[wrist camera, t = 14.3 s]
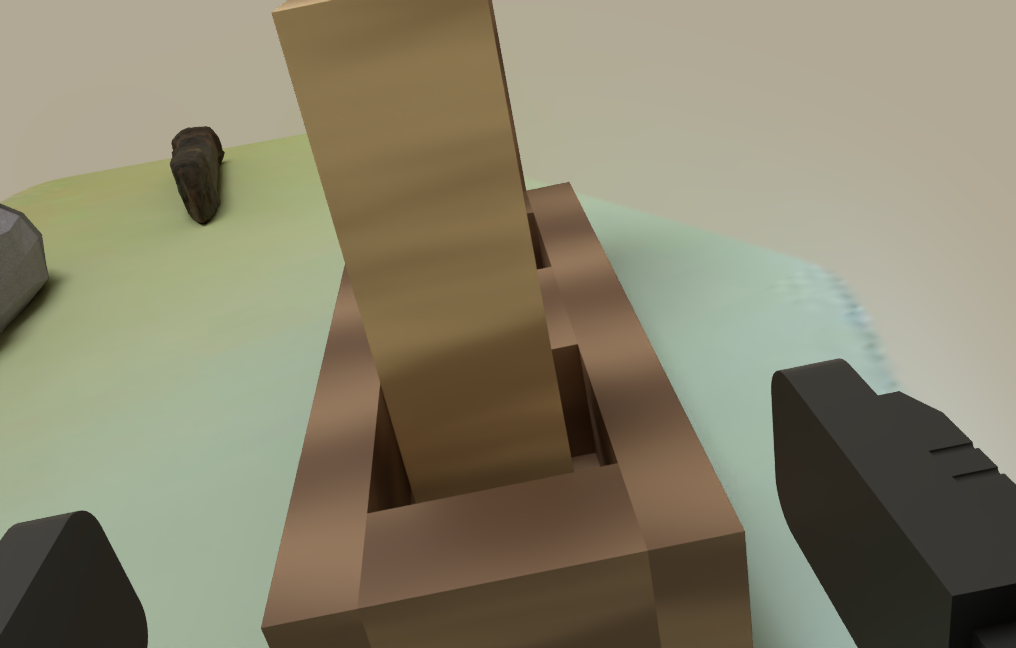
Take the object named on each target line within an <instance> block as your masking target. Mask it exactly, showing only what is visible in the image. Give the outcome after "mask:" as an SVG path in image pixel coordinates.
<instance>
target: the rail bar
mask: <svg viewBox="0 0 1016 648" xmlns="http://www.w3.org/2000/svg"><path fill="white" fill-rule="evenodd" d="M272 16H273V19H274V23H275V26H276V30H277V33H278V36H279V39H280V43H281V47H282V50H283V53H284V57H285V60H286V63H287V67H288V70H289V74H290V77H291V81H292V84H293V87H294V91H295V94H296V98H297V101H298V104H299V108H300V111H301V115H302V118H303V121H304V125H305V128H306V132H307V135H308V138H309V142H310V145H311V149H312V152H313V155H314V159H315V162H316V166H317V169H318V172H319V176H320V179H321V183H322V186H323V189H324V193H325V196H326V200H327V203H328V206H329V210H330V213H331V217H332V220H333V223H334V227H335V230H336V234H337V237H338V240H339V244H340V247H341V251H342V254H343V257H344V261H345V264H346V268H347V271H348V274H349V278H350V281H351V285H352V288H353V291H354V295H355V298H356V302H357V305H358V308H359V312H360V315H361V319H362V322H363V325H364V329H365V332H366V336H367V339H368V342H369V346H370V349H371V353H372V356H373V359H374V363H375V366H376V370H377V373H378V376H379V380H380V383H381V387H382V390H383V393H384V397H385V400H386V404H387V407H388V410H389V414H390V417H391V421H392V424H393V427H394V431H395V434H396V438H397V441H398V444H399V448H400V451H401V455H402V458H403V461H404V465H405V468H406V472H407V475H408V478H409V482H410V485H411V489H412V492H413V495H414V499H415V502H416V504H418V503H423V502H428V501H433V500H438V499H443V498H447V497H452V496H457V495H462V494H467V493H472V492H477V491H482V490H487V489H492V488H497V487H502V486H507V485H512V484H517V483H522V482H527V481H532V480H537V479H542V478H547V477H552V476H557V475H562V474H567V473H572V472H574V470H573V465H572V459H571V454H570V448H569V443H568V437H567V432H566V426H565V421H564V415H563V410H562V404H561V399H560V393H559V388H558V382H557V377H556V371H555V366H554V361H553V355H552V350H551V344H550V339H549V333H548V328H547V322H546V317H545V311H544V306H543V300H542V295H541V289H540V284H539V278H538V273H537V267H536V262H535V256H534V251H533V245H532V240H531V234H530V229H529V223H528V218H527V213H526V207H525V202H524V196H523V191H522V185H521V180H520V174H519V169H518V163H517V158H516V152H515V147H514V141H513V136H512V130H511V125H510V119H509V114H508V108H507V103H506V97H505V92H504V86H503V81H502V76H501V70H500V65H499V59H498V54H497V48H496V43H495V37H494V32H493V26H492V21H491V15H490V10H489V4H488V0H287V1H286V2H285V3H283V4H282V5H281V6H279V7H278V8H277V9H276V10H274V11H273V12H272Z"/></svg>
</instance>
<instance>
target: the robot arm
mask: <svg viewBox="0 0 1016 648" xmlns="http://www.w3.org/2000/svg"><path fill="white" fill-rule="evenodd" d="M771 395H772V415H773V435H774V455H775V475H776V485H777V491H778V496H779V500H780V504H781V507H782V511H783V514H784V517H785V519H786V522H787V524H788V527H789V529H790V531H791V533H792V535H793V536H794V538H795V540H796V541H797V543H798V545H799V547H800V548H801V550H802V552H803V554H804V555H805V557H806V559H807V561H808V562H809V564H810V566H811V567H812V569H813V571H814V573H815V574H816V576H817V578H818V580H819V581H820V583H821V585H822V586H823V588H824V590H825V592H826V593H827V595H828V597H829V599H830V600H831V602H832V604H833V605H834V607H835V609H836V611H837V612H838V614H839V616H840V618H841V619H842V621H843V623H844V625H845V626H846V628H847V630H848V631H849V633H850V635H851V637H852V638H853V640H854V642H855V644H856V645H857V647H858V648H1016V484H1015V483H1014V482H1012V481H1011V480H1010V479H1009V478H1008V477H1007V476H1006V475H1005V474H1000V473H999V471H998V467H997V466H996V465H995V464H994V463H993V462H992V461H991V460H990V459H989V458H988V457H987V456H986V455H985V454H984V453H983V452H982V451H981V450H980V449H979V448H976V449H975V448H974V447H973V442H972V441H971V440H970V439H969V438H968V437H967V436H966V435H965V434H964V433H963V432H962V431H961V430H960V429H959V428H958V427H957V426H956V425H955V424H954V423H953V422H952V421H951V420H950V419H949V418H948V417H947V416H946V415H945V414H944V413H942V412H941V411H938V410H936V409H934V408H932V407H930V406H928V405H926V404H924V403H922V402H920V401H918V400H916V399H914V398H912V397H910V396H908V395H906V394H904V393H902V392H900V391H898V392H893V393H888V394H883V395H877V394H876V393H875V392H874V391H873V390H872V389H871V388H870V386H869V385H868V384H867V383H866V382H865V381H864V380H863V379H862V378H861V377H860V376H859V374H858V373H857V372H856V371H855V370H854V369H853V368H852V367H851V366H850V365H849V364H848V363H847V362H846V361H845V360H843V359H834V360H829V361H824V362H819V363H814V364H809V365H804V366H799V367H794V368H789V369H784V370H780V371H776V372H775V373H774V374H773V377H772V383H771ZM147 645H148V629H147V621H146V616H145V613H144V609H143V607H142V604H141V602H140V600H139V598H138V596H137V594H136V593H135V591H134V589H133V587H132V585H131V583H130V581H129V579H128V577H127V575H126V573H125V571H124V569H123V567H122V565H121V563H120V562H119V560H118V558H117V556H116V554H115V552H114V550H113V548H112V546H111V544H110V542H109V540H108V538H107V536H106V534H105V532H104V531H103V529H102V527H101V525H100V523H99V522H98V520H97V519H96V518H95V517H94V516H93V515H92V514H91V513H89V512H87V511H76V512H71V513H66V514H61V515H56V516H51V517H46V518H42V519H37V520H32V521H27V522H22V523H17V524H15V525H13V526H12V527H11V528H9V529H8V531H7V532H6V533H5V534H4V536H3V537H2V539H1V540H0V648H147Z"/></svg>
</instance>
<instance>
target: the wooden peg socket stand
mask: <svg viewBox="0 0 1016 648" xmlns="http://www.w3.org/2000/svg"><path fill="white" fill-rule="evenodd" d="M488 4H489V10H490V15H491V21H492V26H493V32H494V37H495V43H496V48H497V54H498V59H499V65H500V70H501V76H502V81H503V86H504V92H505V97H506V103H507V108H508V114H509V119H510V125H511V130H512V136H513V141H514V147H515V152H516V158H517V163H518V169H519V174H520V180H521V185H522V191H523V196H524V202H525V207H526V213H527V218H528V223H529V229H530V234H531V240H532V245H533V251H534V256H535V262H536V267H537V273H538V278H539V284H540V289H541V295H542V300H543V306H544V311H545V317H546V322H547V328H548V333H549V339H550V344H551V350H552V355H553V361H554V366H555V371H556V377H557V382H558V388H559V393H560V399H561V404H562V410H563V415H564V421H565V426H566V432H567V437H568V443H569V448H570V454H571V459H572V465H573V470H574V472H572V473H567V474H562V475H557V476H552V477H547V478H542V479H537V480H532V481H527V482H522V483H517V484H512V485H507V486H502V487H497V488H492V489H487V490H482V491H477V492H472V493H467V494H462V495H457V496H452V497H447V498H443V499H438V500H433V501H428V502H423V503H418V504H416V502H415V499H414V495H413V492H412V489H411V485H410V482H409V478H408V475H407V472H406V468H405V465H404V461H403V458H402V455H401V451H400V448H399V444H398V441H397V438H396V434H395V431H394V427H393V424H392V421H391V417H390V414H389V410H388V407H387V404H386V400H385V397H384V393H383V390H382V387H381V383H380V380H379V376H378V373H377V370H376V366H375V363H374V359H373V356H372V353H371V349H370V346H369V342H368V339H367V336H366V332H365V329H364V325H363V322H362V319H361V315H360V312H359V308H358V305H357V302H356V298H355V295H354V291H353V288H352V285H351V281H350V278H349V274H348V271H347V268H346V264H345V266H344V271H343V275H342V279H341V284H340V288H339V292H338V297H337V301H336V305H335V310H334V314H333V318H332V323H331V327H330V331H329V336H328V340H327V344H326V349H325V353H324V357H323V362H322V366H321V370H320V375H319V379H318V383H317V388H316V392H315V396H314V401H313V405H312V409H311V414H310V418H309V422H308V427H307V431H306V435H305V440H304V444H303V448H302V453H301V457H300V461H299V466H298V470H297V474H296V479H295V483H294V487H293V492H292V496H291V500H290V505H289V509H288V513H287V517H286V522H285V526H284V530H283V535H282V539H281V543H280V548H279V552H278V556H277V561H276V565H275V569H274V574H273V578H272V582H271V587H270V591H269V595H268V600H267V604H266V608H265V613H264V617H263V621H262V626H261V629H262V632H263V634H264V636H265V638H266V641H267V643H268V645H269V648H753V640H752V626H751V612H750V598H749V584H748V570H747V556H746V542H745V531H744V529H743V527H742V525H741V523H740V521H739V519H738V517H737V515H736V513H735V511H734V509H733V507H732V505H731V503H730V501H729V499H728V497H727V495H726V493H725V491H724V489H723V487H722V485H721V483H720V481H719V479H718V477H717V475H716V473H715V471H714V469H713V467H712V465H711V463H710V461H709V459H708V457H707V455H706V453H705V451H704V449H703V447H702V445H701V443H700V441H699V439H698V437H697V435H696V433H695V431H694V429H693V427H692V425H691V423H690V421H689V419H688V417H687V415H686V413H685V411H684V409H683V407H682V405H681V403H680V401H679V399H678V397H677V395H676V393H675V391H674V389H673V387H672V385H671V383H670V381H669V379H668V377H667V375H666V373H665V372H664V370H663V368H662V366H661V364H660V362H659V360H658V358H657V356H656V354H655V352H654V350H653V348H652V346H651V344H650V342H649V340H648V338H647V336H646V334H645V332H644V330H643V328H642V326H641V324H640V322H639V320H638V318H637V316H636V314H635V312H634V310H633V308H632V306H631V304H630V302H629V300H628V298H627V296H626V294H625V292H624V290H623V288H622V286H621V284H620V282H619V280H618V278H617V276H616V274H615V272H614V270H613V268H612V266H611V264H610V262H609V260H608V258H607V256H606V254H605V252H604V250H603V248H602V246H601V244H600V242H599V240H598V238H597V236H596V234H595V232H594V230H593V228H592V226H591V224H590V222H589V220H588V218H587V216H586V214H585V212H584V210H583V208H582V206H581V204H580V202H579V200H578V198H577V196H576V194H575V192H574V190H573V188H572V186H571V184H570V183H569V182H567V183H562V184H557V185H552V186H547V187H542V188H537V189H532V190H528V191H526V187H525V182H524V176H523V171H522V165H521V160H520V154H519V148H518V143H517V137H516V132H515V126H514V121H513V116H512V110H511V104H510V99H509V93H508V88H507V83H506V76H505V71H504V66H503V60H502V54H501V49H500V43H499V38H498V33H497V28H496V21H495V15H494V10H493V5H492V0H488Z"/></svg>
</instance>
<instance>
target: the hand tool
mask: <svg viewBox="0 0 1016 648" xmlns="http://www.w3.org/2000/svg"><path fill="white" fill-rule="evenodd" d="M172 148H173V152H172V159H171V162H170V167H171V170H172V173H173V176H174V178H175V181H176V184H177V188H178V192H179V194H180V196H181V198H182V200H183V202H184V205H185V207H186V209H187V211H188V213H189V214H190V216H191V217H192V218H193V219H195V220H196V221H198V222H200V223H204V222H206V221H207V220H209V219H210V218H211V217H212V216H213V215H214V214H215V212H216V210H217V207H218V206H219V204H220V198H219V195H218V190H217V181H218V167H219V165H220V164H221V163H222V160H223V157H224V153H225V152H224V151H223V150H222V145H221V142H220V140H219V137H218V136H217V135H216V133H215V132H214V131H213V130H212V129H211V128H210V127H207V126H206V127H193V128H186V129H184V130H182V131H180V132H179V133H178V134H177V135H176V136H175V138H174V139H173V140H172ZM199 207H200V209H199Z"/></svg>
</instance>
